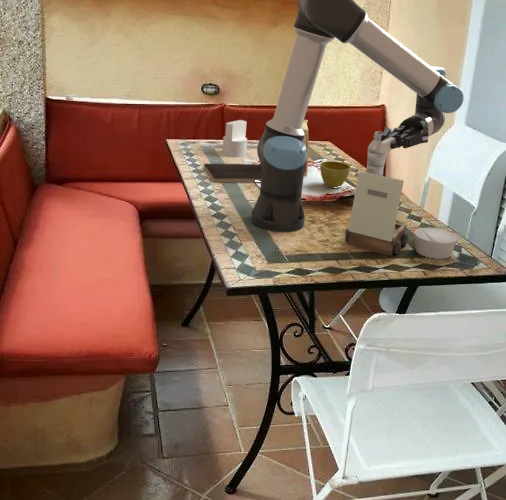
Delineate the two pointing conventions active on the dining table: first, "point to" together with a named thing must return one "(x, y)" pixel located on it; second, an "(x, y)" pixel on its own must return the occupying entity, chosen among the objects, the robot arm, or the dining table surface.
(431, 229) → the ramekin
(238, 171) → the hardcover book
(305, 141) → the milk carton
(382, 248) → the flatbed cart
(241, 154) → the cylinder with rectangular tab
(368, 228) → the panel
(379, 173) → the plastic bottle
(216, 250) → the dining table surface
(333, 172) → the flower pot
